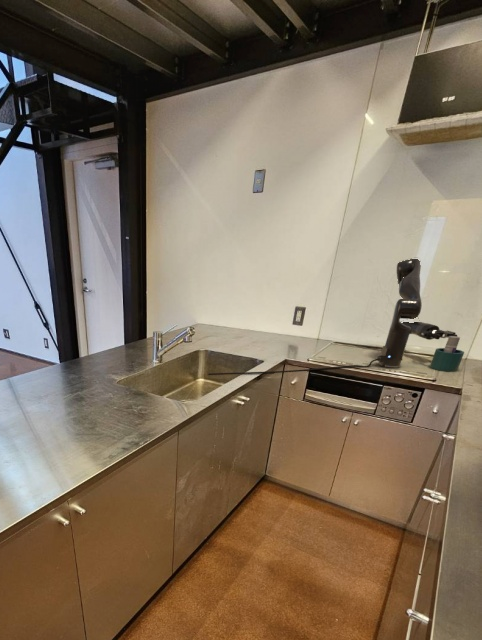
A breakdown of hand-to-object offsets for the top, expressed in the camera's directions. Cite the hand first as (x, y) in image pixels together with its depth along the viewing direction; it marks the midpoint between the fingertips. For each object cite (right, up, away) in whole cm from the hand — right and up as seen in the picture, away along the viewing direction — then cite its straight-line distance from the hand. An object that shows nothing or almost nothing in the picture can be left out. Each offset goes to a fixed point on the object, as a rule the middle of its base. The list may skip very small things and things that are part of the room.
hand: (447, 337), depth 192 cm
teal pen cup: (0, -15, +3) cm, 15 cm away
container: (0, -14, +3) cm, 15 cm away
